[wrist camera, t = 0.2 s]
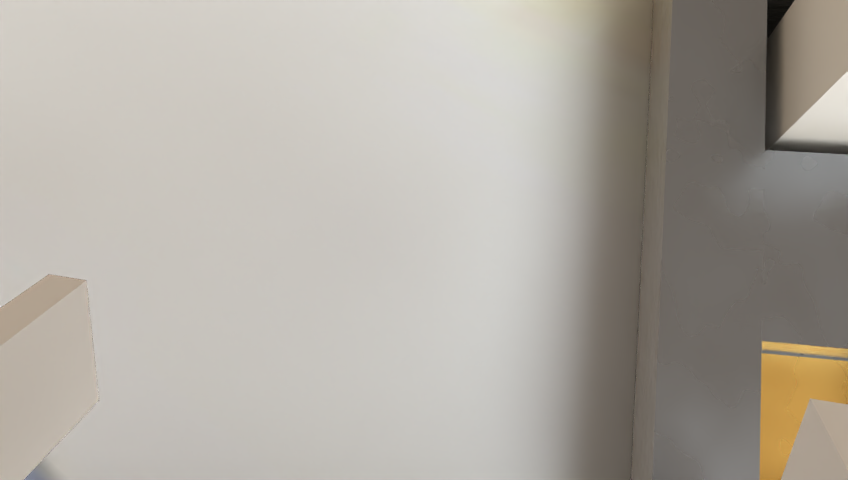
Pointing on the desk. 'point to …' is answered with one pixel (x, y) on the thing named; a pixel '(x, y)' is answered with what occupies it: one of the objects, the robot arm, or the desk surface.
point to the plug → (808, 79)
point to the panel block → (731, 258)
